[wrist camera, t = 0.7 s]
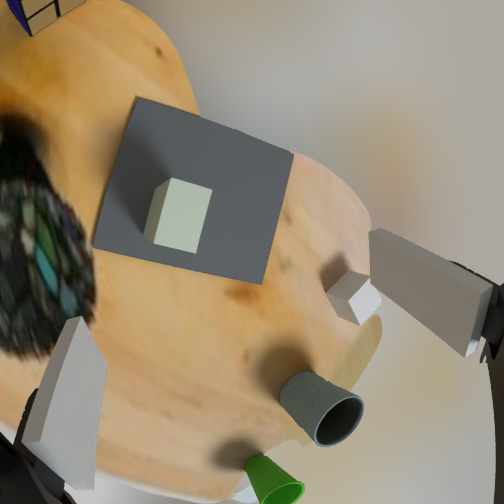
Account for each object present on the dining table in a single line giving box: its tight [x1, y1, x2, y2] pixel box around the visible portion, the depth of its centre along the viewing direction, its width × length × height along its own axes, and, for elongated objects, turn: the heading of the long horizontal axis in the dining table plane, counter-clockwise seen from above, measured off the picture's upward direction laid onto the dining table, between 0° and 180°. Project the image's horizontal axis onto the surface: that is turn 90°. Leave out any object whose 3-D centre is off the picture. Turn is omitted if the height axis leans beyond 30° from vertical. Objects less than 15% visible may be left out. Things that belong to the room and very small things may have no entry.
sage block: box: [143, 177, 212, 253], centre depth 32 cm, size 4×6×12 cm, turn 164°
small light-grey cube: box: [325, 271, 382, 326], centre depth 50 cm, size 6×6×6 cm
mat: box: [93, 98, 294, 285], centre depth 40 cm, size 24×20×1 cm
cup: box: [245, 455, 305, 504], centre depth 45 cm, size 9×9×11 cm
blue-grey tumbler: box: [279, 371, 364, 447], centre depth 46 cm, size 10×10×12 cm
